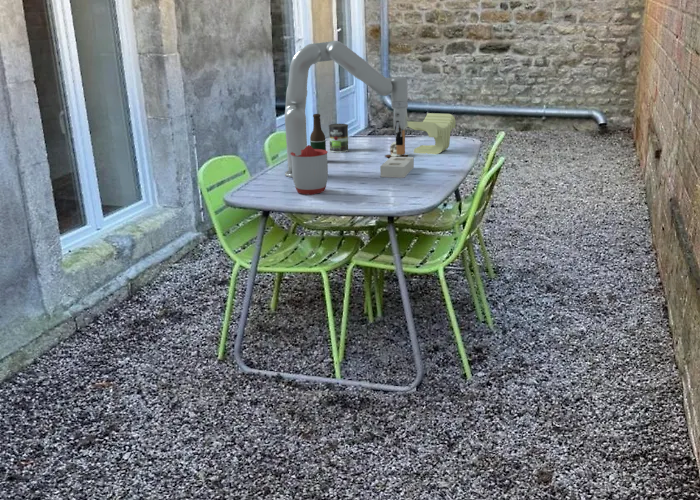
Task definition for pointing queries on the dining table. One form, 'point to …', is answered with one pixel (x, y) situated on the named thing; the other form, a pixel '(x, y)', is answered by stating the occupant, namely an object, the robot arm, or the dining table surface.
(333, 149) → the coffee can
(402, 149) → the peg
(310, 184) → the citrus juicer
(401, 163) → the block
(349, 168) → the dining table surface
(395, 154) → the skull
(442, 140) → the slatted curved stool
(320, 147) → the beer bottle
